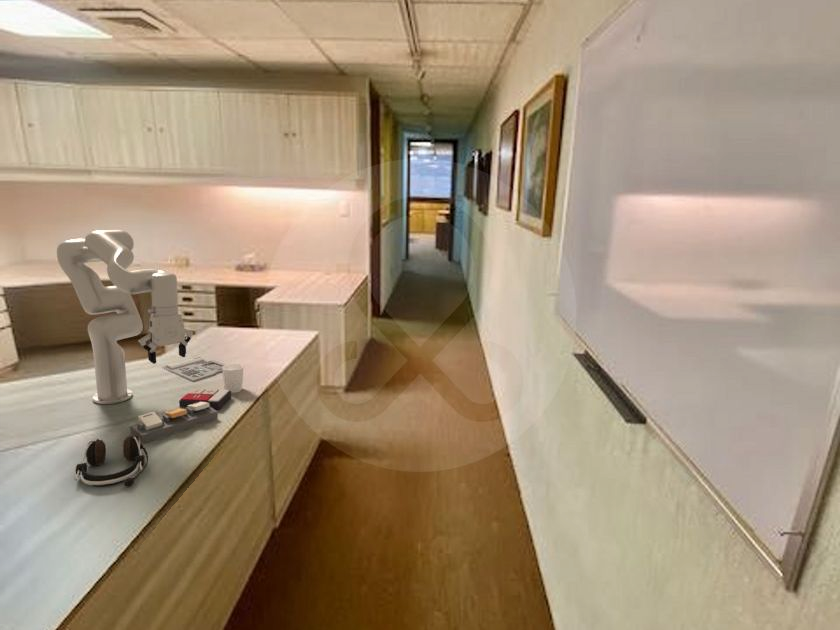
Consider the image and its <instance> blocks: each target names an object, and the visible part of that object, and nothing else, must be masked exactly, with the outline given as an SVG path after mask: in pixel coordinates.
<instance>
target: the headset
mask: <svg viewBox="0 0 840 630" xmlns="http://www.w3.org/2000/svg"><path fill="white" fill-rule="evenodd" d="M146 449H147V448H146V447H144V445H143V444H142V443H141V442H140V438H139V436H133V435H132V434H129V436H126V437H125V438H124V440H123V443H122V453H123V458H125V460H127V461H133V460H134V463H132V465H131V466H128V467H127V468H125V469H122V470H121V471H119V472H115V473H110V474H102V475H99V474H98V475H94V474H91V473H89V472H88V468H89V467H92V466H94V465H95V466H97V467H98V466H100V464H103V463H104V461H105V460H106V456H107V455H106V454H107V447H106V443H105V441H104V440H103V439H99V438H96V439H95V440H93V441H92V440H91V441H89V442H88V443H87V445H86V448H85V450H84V453H83V457H82V460H81V462H80V463H77V464H76V466H75V474H76V475H75V477H74V481H78V480H79V478H80V480H81V481H82V483H83V484H85V485H88V486H93V487H96V488H97V487H101V488H103V487H110V486H115V485H118V484H122V483H124V484H123V485H124V487H125V488H128V487H131V486H133V484H134V483H135V481H136V479H137V478H138V477H139V476H140V475H141V474H142V473H143V472H144V471H145V469H146V468H147V466H148V462H149V456H148V451H147V450H146ZM142 450H143V451H144V453H145V455H144V454H142ZM145 456H146V460H145ZM85 459H86V462H84V461H85ZM87 463H88V464H87ZM138 470H140V472H138ZM137 472H138V474H137V475H136V476H134V475H135V474H136V473H137ZM133 476H134V477H133Z"/></svg>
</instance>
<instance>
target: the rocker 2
mask: <svg viewBox="0 0 840 630" xmlns="http://www.w3.org/2000/svg"><path fill="white" fill-rule="evenodd" d="M187 407H189V408H191V409H192V410H194V411H197V410H201V409H204V408H207V407H210V406H209V403H206V402H198V403H194V404H191V405H188V406H187Z"/></svg>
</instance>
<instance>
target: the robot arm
mask: <svg viewBox="0 0 840 630" xmlns="http://www.w3.org/2000/svg"><path fill="white" fill-rule="evenodd" d="M134 247H135V245H134V239H133V237H132V236H131V235H130V233H128V232H127V231H125V230H122V229H107V230H106V229H105V230H93V231H91V232H89V233H88V234H87V235H86V236H85V238H75V239H69V240H68V239H67V240H64V241H62V242H61V243H59V244H58V246H57V249H56V258H57V262H58V265H59V266H60V268H61V270H62V271H63V272H64V274H65V275H66V276H67V278H68V279H69V281H70V282H71V284H72V287H73V288H74V291H75V294H76V296H77V298H78V300H79V302H80V305H81V307H82V308H83V310H84V312H85V313H86V314H88V315H100V314H108V313H112V312H113V313H114V314H113V313H112V314H108V315H103V316H98V317H96V318H94V319H92V320H91V321H90V322H89V323H88V324H87V334H88V337H89V339H90V342H91V347H92V353H93V354H92V355H93V361H94V362H93V364H94V371H95V372H94V373H95V383H96V393H95V394H94V395H92V401H93V403H95V404H99V405H111V404H112V405H113V404H119V403H122V402H125V401H127V400H129V399H131V398H132V397H133V391H132V390H131V389H129V388H128V384H127V383H128V381H127V380H128V379H127V369H126V368H127V367H126V357H125V350H124V349H123V347H122V346H121V345H120V344H119V343H118V342H117V341H120V340H123V339H128V338H133V337H135V336H138V335H140V334H141V332H142V331H143V328H144V327H143V321H142V318H141V316H140V313H139V311H138V308H137V306H136V303H135V302H134V299H133V297H132V295H137V294H138V295H139V294H144V293H145V294H146V293H150V294H151V308H148V309H147V312H148V313H149V314H150V318H149V322H148V323H149V324H148V333H147V334H146V335H144V336H143V337H141V338H139V339H138V343H139V345H140V346H141V348H142V349H144V350H146V351H147V358H148V361H149V362H150V363H152V364H153V365H155V364H157V353H156V348H158V347H167V346H170V345H175V344H178V356H180V357H182V358H186V354H187V346H188V343H189V342H190V341H191V339H192V336H193V334H194V331H192V330H189V329H187V328H185V323H184V319H183V314H182V312H179V300H178V299H179V298H178V297H179V296H178V278H177V275H176V274H174V273H172V272H166V271H164V270H162V269H159V268H147V269H146V268H145V269H138V270H137V269H135V270H127V269H128V268H129V267H131V265H132V264H133V261H134V259H135V256H134V253H133V249H134ZM99 262H103V263H105V265H106V267H107V268H106V271H107V276H108V279H109V281H110V282H111V284H112V285H108V286H105V285H104V284H103V283H102V281H101V278H100V275H98V273H97V272H96V271H95V270H94V269H92V268H91V267H89V266H88V265H86V263H87V264H88V263H99ZM115 312H116V313H115ZM147 341H149V344H148V345H147V343H146V342H147Z"/></svg>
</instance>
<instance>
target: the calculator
mask: <svg viewBox="0 0 840 630" xmlns="http://www.w3.org/2000/svg"><path fill="white" fill-rule="evenodd" d="M231 400H232V393H231V391H229V390H224V389H218V388H193V389H191V390H190V391H189V392H187V393H186V394H185V395H184V396H182V397H181V398H180V399H179V401H178V403H179V408H183V407H187V406H188V405H191V404H194V403H198V402H207V403H209V404H210V407H211V408H213V409H215V410H216V411H221V410H222V409H223V408H224V407H225V406H226V405H227V404H228V402H230V401H231Z"/></svg>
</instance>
